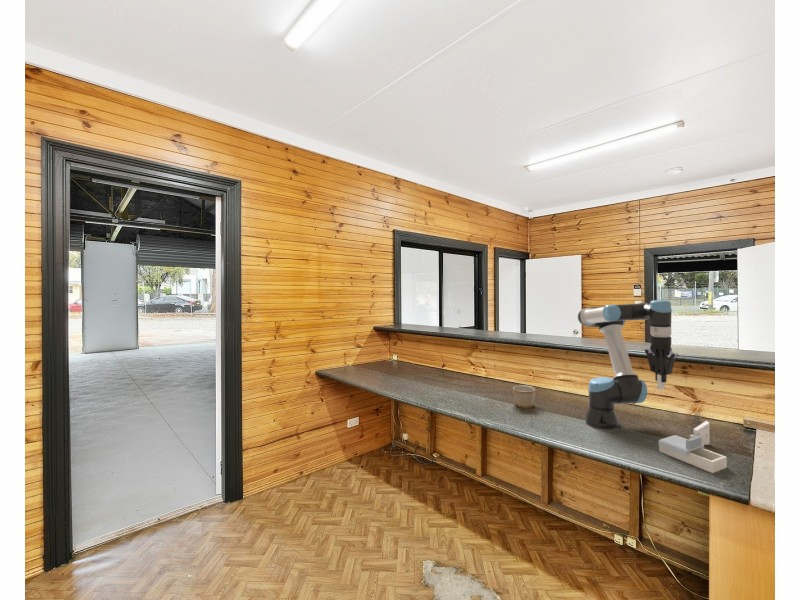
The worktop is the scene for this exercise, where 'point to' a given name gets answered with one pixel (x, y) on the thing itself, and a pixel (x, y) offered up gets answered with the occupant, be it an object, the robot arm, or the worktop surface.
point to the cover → (681, 444)
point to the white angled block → (702, 432)
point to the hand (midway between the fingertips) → (660, 388)
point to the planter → (524, 396)
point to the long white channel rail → (700, 458)
